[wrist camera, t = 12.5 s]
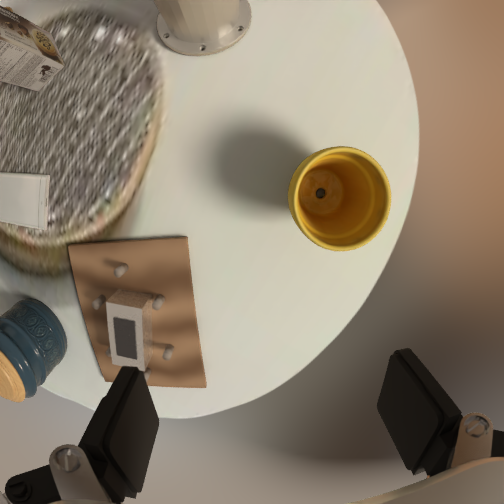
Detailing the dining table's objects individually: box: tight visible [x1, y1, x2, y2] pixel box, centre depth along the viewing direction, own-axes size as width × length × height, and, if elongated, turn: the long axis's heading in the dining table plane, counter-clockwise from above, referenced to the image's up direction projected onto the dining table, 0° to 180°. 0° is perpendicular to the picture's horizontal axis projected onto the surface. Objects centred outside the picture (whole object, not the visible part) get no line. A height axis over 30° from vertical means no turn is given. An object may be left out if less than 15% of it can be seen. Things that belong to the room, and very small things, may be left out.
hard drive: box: [0, 172, 50, 230], centre depth 34 cm, size 2×8×12 cm
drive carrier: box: [106, 289, 153, 371], centre depth 37 cm, size 10×5×5 cm, turn 172°
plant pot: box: [288, 146, 391, 251], centre depth 31 cm, size 10×10×10 cm
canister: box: [0, 299, 67, 402], centre depth 32 cm, size 13×13×18 cm
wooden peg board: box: [68, 237, 206, 388], centre depth 38 cm, size 24×18×4 cm
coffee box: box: [0, 6, 65, 91], centre depth 21 cm, size 9×6×16 cm
